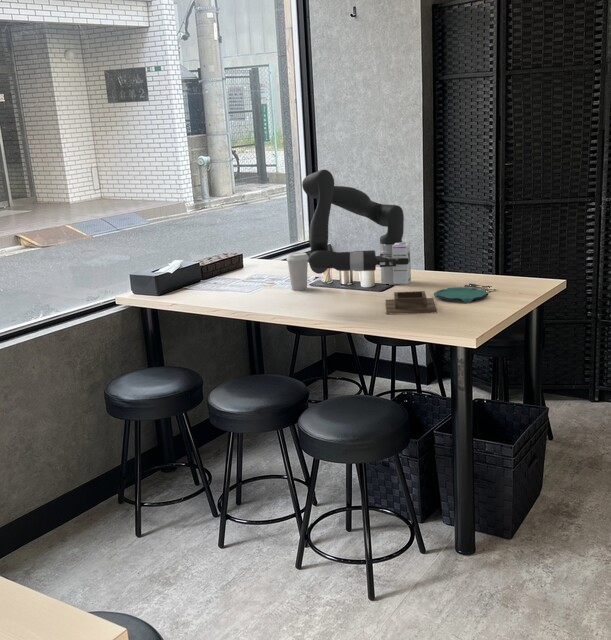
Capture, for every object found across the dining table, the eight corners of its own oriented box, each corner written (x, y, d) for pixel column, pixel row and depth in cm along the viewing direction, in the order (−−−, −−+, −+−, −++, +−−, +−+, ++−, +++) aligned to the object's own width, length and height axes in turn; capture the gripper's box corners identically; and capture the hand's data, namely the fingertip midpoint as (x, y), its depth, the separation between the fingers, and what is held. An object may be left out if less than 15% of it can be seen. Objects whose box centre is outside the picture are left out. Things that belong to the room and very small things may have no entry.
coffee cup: (285, 291, 327) (283, 256, 323) (291, 286, 336) (289, 252, 332) (307, 291, 324) (305, 255, 321) (312, 286, 333) (310, 251, 330)
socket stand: (385, 302, 296) (385, 290, 295) (433, 300, 294) (432, 288, 293) (386, 314, 279) (386, 301, 278) (436, 312, 277) (436, 299, 276)
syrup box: (408, 284, 283) (408, 244, 279) (392, 283, 285) (391, 244, 281) (411, 280, 288) (410, 242, 285) (395, 280, 290) (394, 242, 286)
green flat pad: (424, 299, 298) (424, 293, 297) (466, 286, 319) (466, 280, 318) (469, 306, 284) (469, 300, 284) (510, 292, 305) (510, 286, 305)
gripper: (361, 254, 278) (408, 252, 276) (362, 247, 292) (407, 246, 290) (362, 274, 280) (408, 273, 278) (363, 267, 294) (407, 265, 292)
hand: (408, 259), depth 284 cm, fingers closed on syrup box, 6 cm apart
